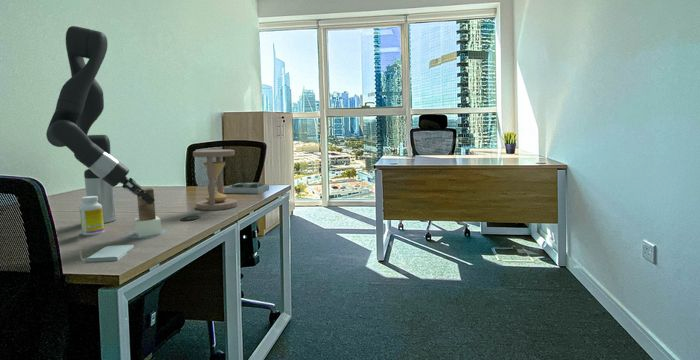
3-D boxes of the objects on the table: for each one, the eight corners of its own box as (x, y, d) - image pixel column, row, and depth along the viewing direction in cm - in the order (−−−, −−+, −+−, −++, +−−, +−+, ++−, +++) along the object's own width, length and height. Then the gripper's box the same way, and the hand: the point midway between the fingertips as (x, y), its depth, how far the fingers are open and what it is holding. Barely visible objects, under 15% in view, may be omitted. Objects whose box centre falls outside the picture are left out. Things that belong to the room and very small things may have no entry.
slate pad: (120, 238, 147) (120, 237, 146) (144, 229, 158) (144, 228, 158) (150, 239, 144) (150, 238, 144) (172, 230, 156) (172, 229, 156)
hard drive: (117, 256, 123) (133, 244, 135) (85, 258, 122) (105, 245, 134) (117, 262, 123) (134, 249, 135) (86, 264, 122) (105, 250, 134)
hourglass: (209, 202, 210) (205, 149, 207) (243, 203, 207) (241, 149, 204) (188, 210, 193) (184, 152, 190) (225, 210, 190) (222, 152, 186)
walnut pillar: (141, 220, 147) (138, 190, 146) (139, 218, 151) (136, 189, 150) (155, 219, 150) (153, 189, 148) (153, 216, 153) (151, 187, 152)
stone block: (239, 191, 247) (239, 181, 247) (264, 191, 244) (263, 181, 244) (232, 193, 239) (231, 183, 238) (257, 193, 236) (257, 184, 235)
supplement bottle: (108, 232, 155) (105, 195, 153) (91, 237, 149) (87, 199, 147) (95, 230, 158) (92, 194, 156) (77, 235, 152) (74, 197, 150)
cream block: (138, 237, 146) (137, 222, 146) (135, 232, 152) (134, 218, 151) (161, 233, 150) (160, 219, 149) (157, 229, 156) (156, 215, 155)
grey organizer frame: (224, 193, 239) (223, 187, 238) (236, 188, 253) (236, 183, 253) (258, 193, 235) (258, 187, 234) (269, 189, 249) (269, 184, 248)
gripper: (120, 161, 138) (162, 194, 145) (115, 158, 150) (154, 189, 157) (102, 180, 136) (146, 212, 143) (98, 175, 148) (139, 206, 155)
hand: (150, 200), depth 150 cm, fingers open, 8 cm apart
